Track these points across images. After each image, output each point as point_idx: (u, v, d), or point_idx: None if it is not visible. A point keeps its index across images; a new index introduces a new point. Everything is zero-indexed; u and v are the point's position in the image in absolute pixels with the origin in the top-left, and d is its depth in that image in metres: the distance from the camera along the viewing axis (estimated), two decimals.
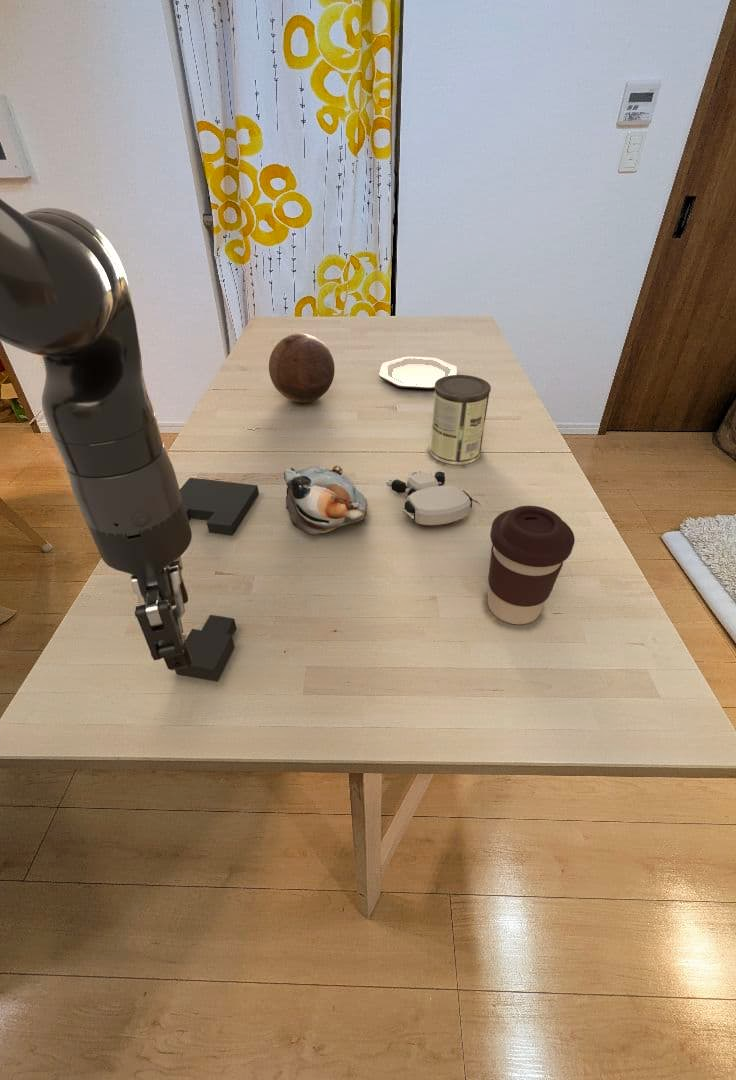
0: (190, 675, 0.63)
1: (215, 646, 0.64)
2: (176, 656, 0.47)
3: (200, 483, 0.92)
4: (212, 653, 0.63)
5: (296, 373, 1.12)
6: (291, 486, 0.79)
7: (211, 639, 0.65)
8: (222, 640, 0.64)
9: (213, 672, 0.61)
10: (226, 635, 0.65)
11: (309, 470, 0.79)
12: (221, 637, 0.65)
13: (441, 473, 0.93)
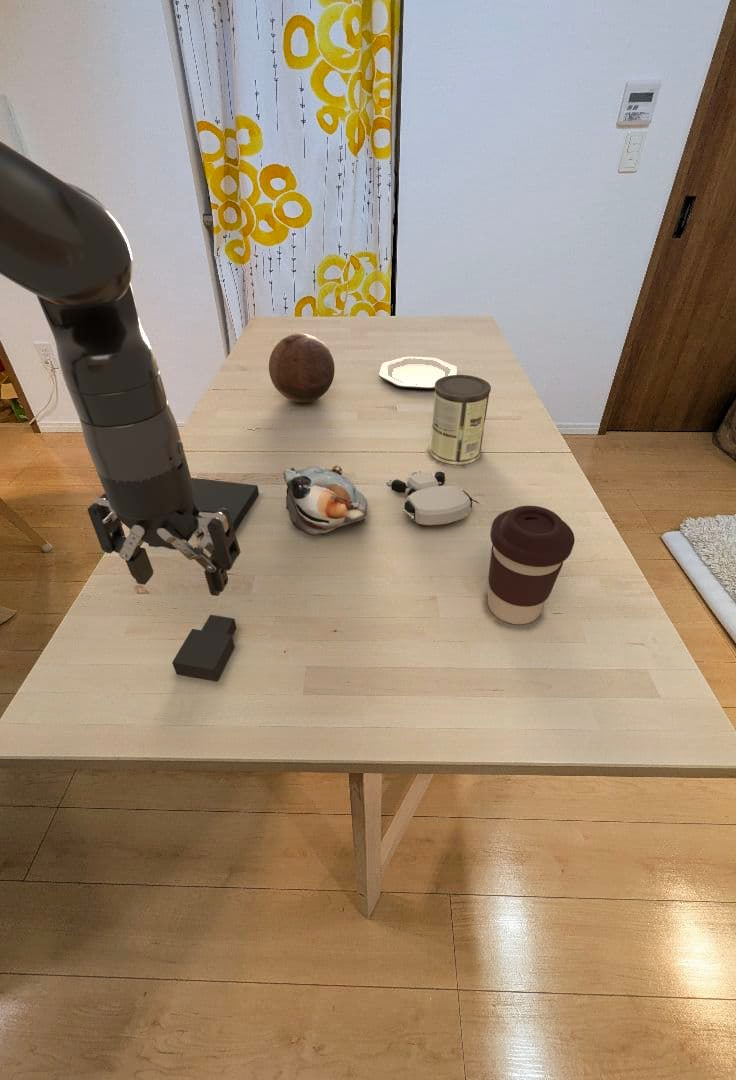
0: (190, 675, 0.63)
1: (215, 646, 0.64)
2: (223, 573, 0.54)
3: (200, 483, 0.92)
4: (212, 653, 0.63)
5: (296, 373, 1.12)
6: (291, 486, 0.79)
7: (211, 639, 0.65)
8: (222, 640, 0.64)
9: (213, 672, 0.61)
10: (226, 635, 0.65)
11: (309, 470, 0.79)
12: (221, 637, 0.65)
13: (441, 473, 0.93)
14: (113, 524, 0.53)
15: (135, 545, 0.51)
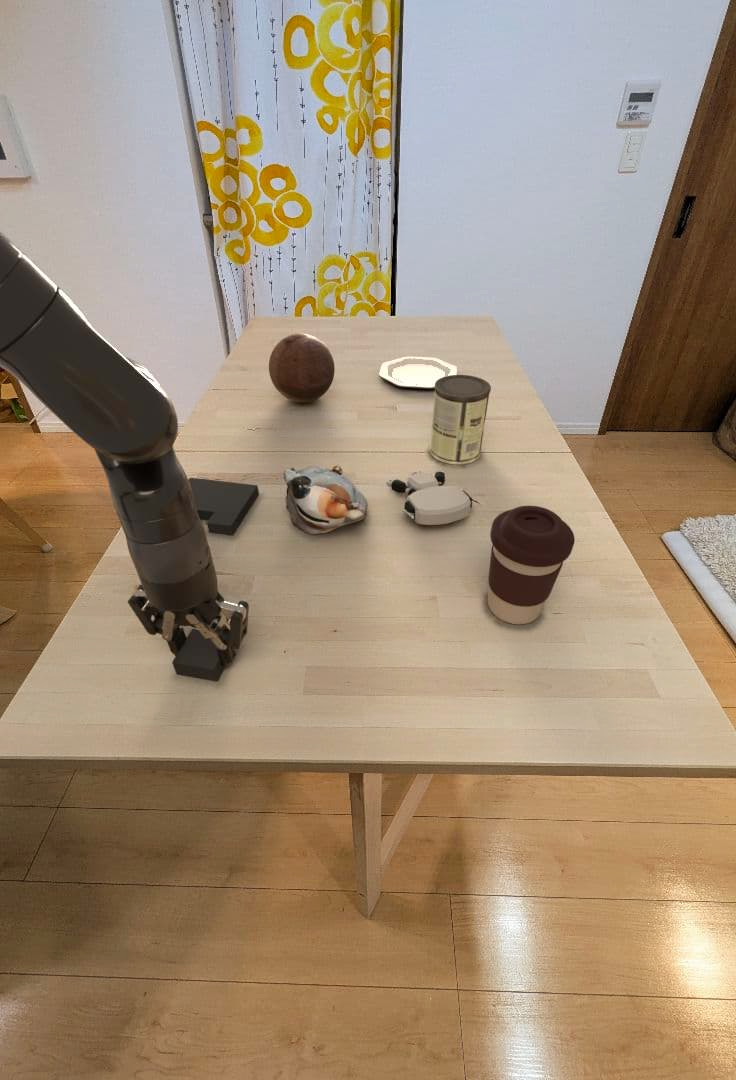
0: (190, 675, 0.63)
1: (215, 646, 0.64)
2: (232, 648, 0.63)
3: (200, 483, 0.92)
4: (212, 653, 0.63)
5: (296, 373, 1.12)
6: (291, 486, 0.79)
7: None
8: None
9: (213, 672, 0.61)
10: None
11: (309, 470, 0.79)
12: None
13: (441, 473, 0.93)
14: (152, 610, 0.61)
15: (171, 627, 0.59)
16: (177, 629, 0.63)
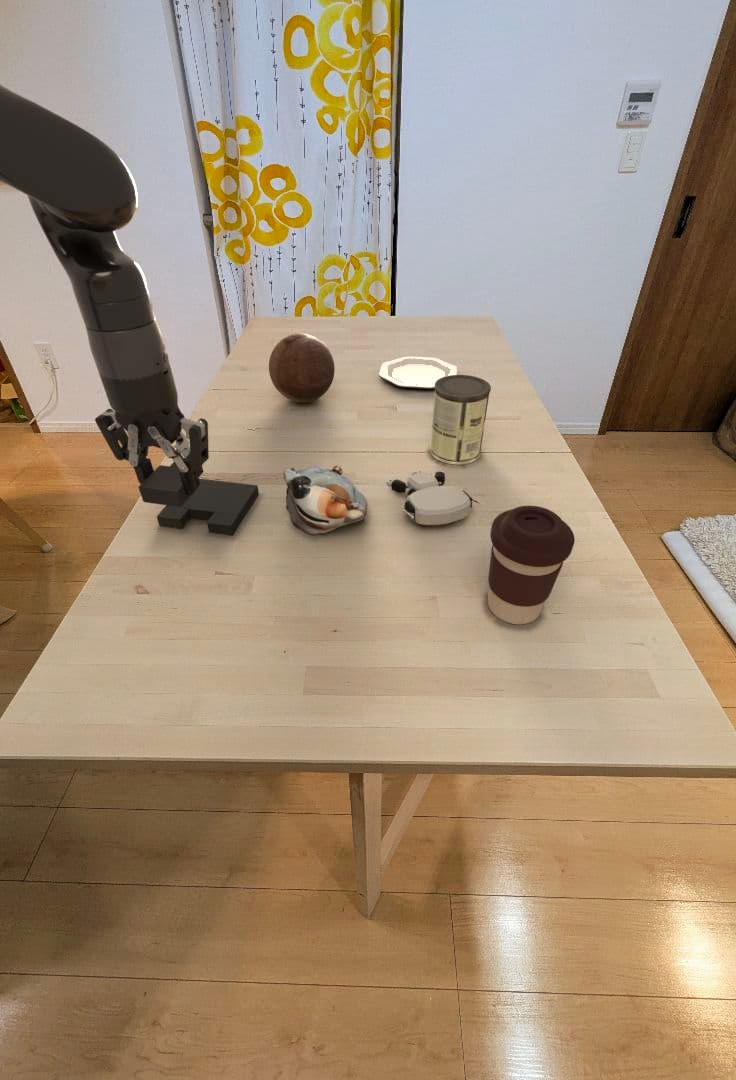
0: (156, 502, 0.67)
1: None
2: (195, 475, 0.66)
3: (200, 483, 0.92)
4: (176, 481, 0.67)
5: (296, 373, 1.12)
6: (291, 486, 0.79)
7: (177, 472, 0.68)
8: None
9: (176, 495, 0.65)
10: None
11: (309, 470, 0.79)
12: None
13: (441, 473, 0.93)
14: (119, 434, 0.65)
15: (136, 446, 0.63)
16: (143, 457, 0.66)
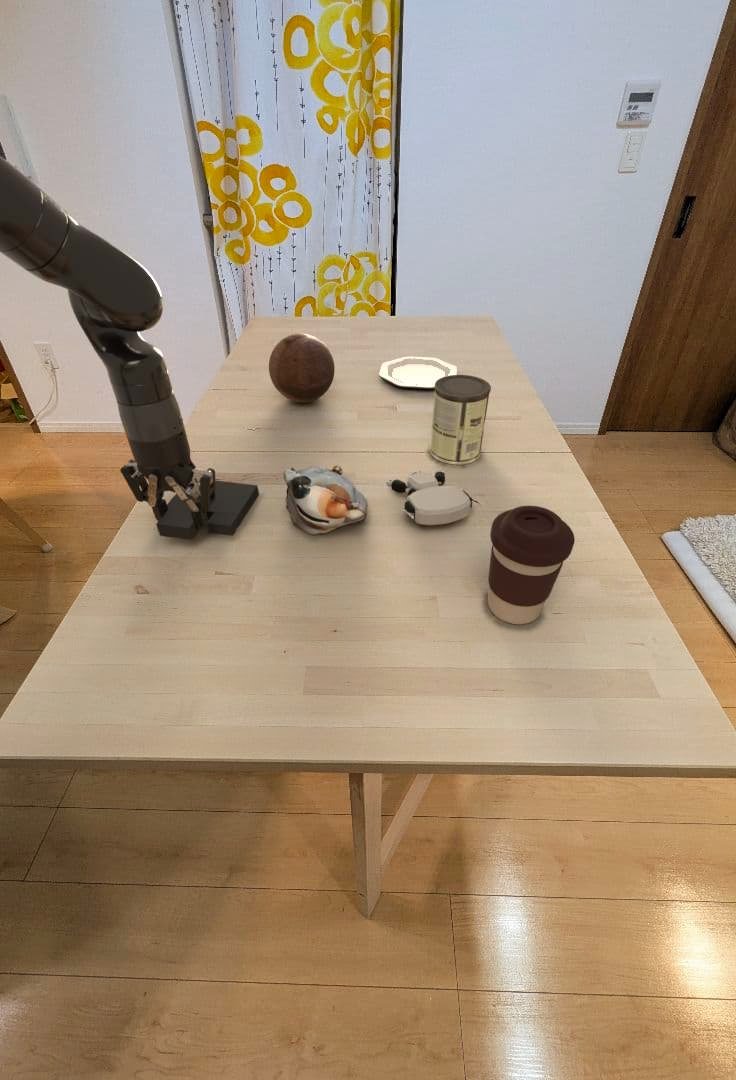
0: (171, 536, 0.79)
1: None
2: (204, 513, 0.79)
3: None
4: (188, 518, 0.79)
5: (296, 373, 1.12)
6: (291, 486, 0.79)
7: (188, 510, 0.81)
8: None
9: (188, 530, 0.78)
10: None
11: (309, 470, 0.79)
12: None
13: (441, 473, 0.93)
14: (140, 480, 0.77)
15: (155, 491, 0.75)
16: (160, 498, 0.79)
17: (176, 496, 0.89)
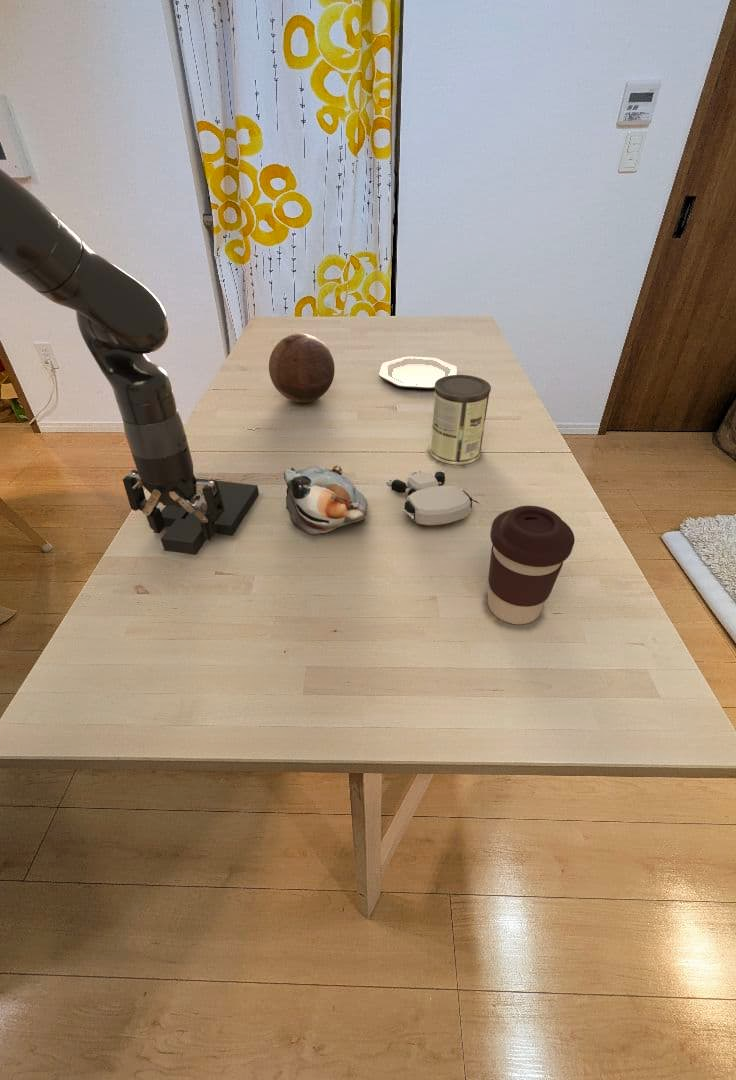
0: (175, 550, 0.81)
1: (194, 529, 0.82)
2: (213, 524, 0.80)
3: None
4: (192, 533, 0.81)
5: (296, 373, 1.12)
6: (291, 486, 0.79)
7: (191, 525, 0.82)
8: (200, 525, 0.82)
9: (192, 545, 0.79)
10: None
11: (309, 470, 0.79)
12: (199, 523, 0.83)
13: (441, 473, 0.93)
14: (138, 491, 0.78)
15: (154, 504, 0.77)
16: (154, 507, 0.80)
17: None
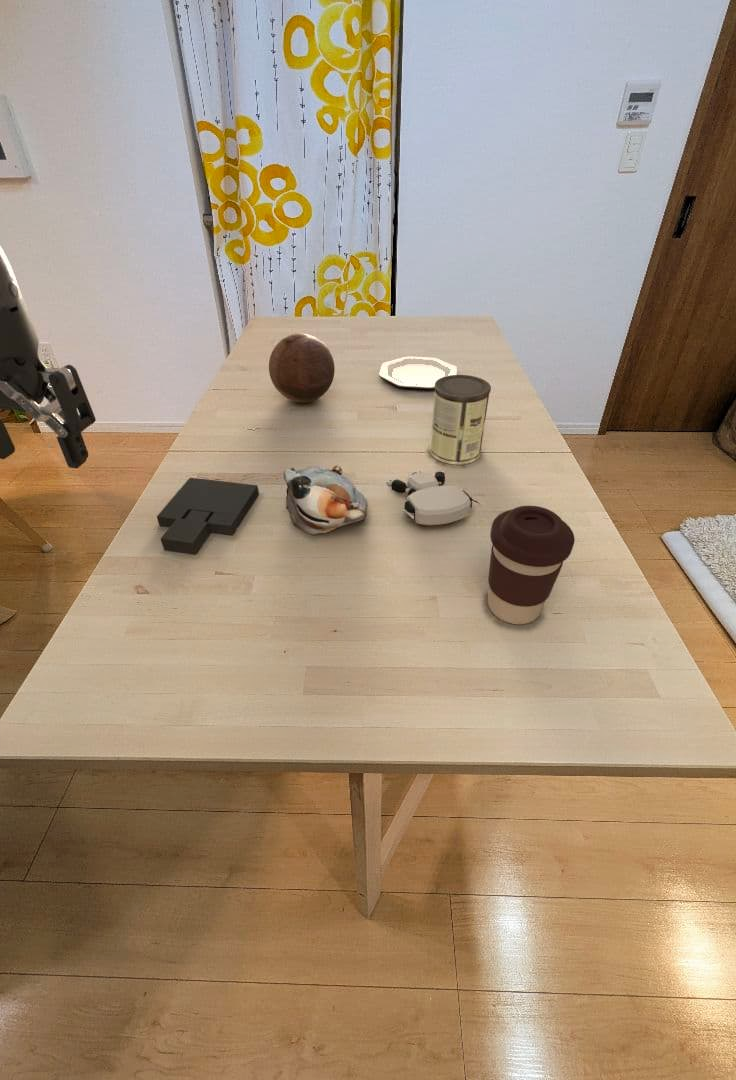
0: (175, 550, 0.81)
1: (194, 529, 0.82)
2: (80, 442, 0.53)
3: (200, 483, 0.92)
4: (192, 533, 0.81)
5: (296, 373, 1.12)
6: (291, 486, 0.79)
7: (191, 525, 0.82)
8: (200, 525, 0.82)
9: (192, 545, 0.79)
10: (203, 522, 0.83)
11: (309, 470, 0.79)
12: (199, 523, 0.83)
13: (441, 473, 0.93)
14: None
15: None
16: None
17: (176, 496, 0.89)
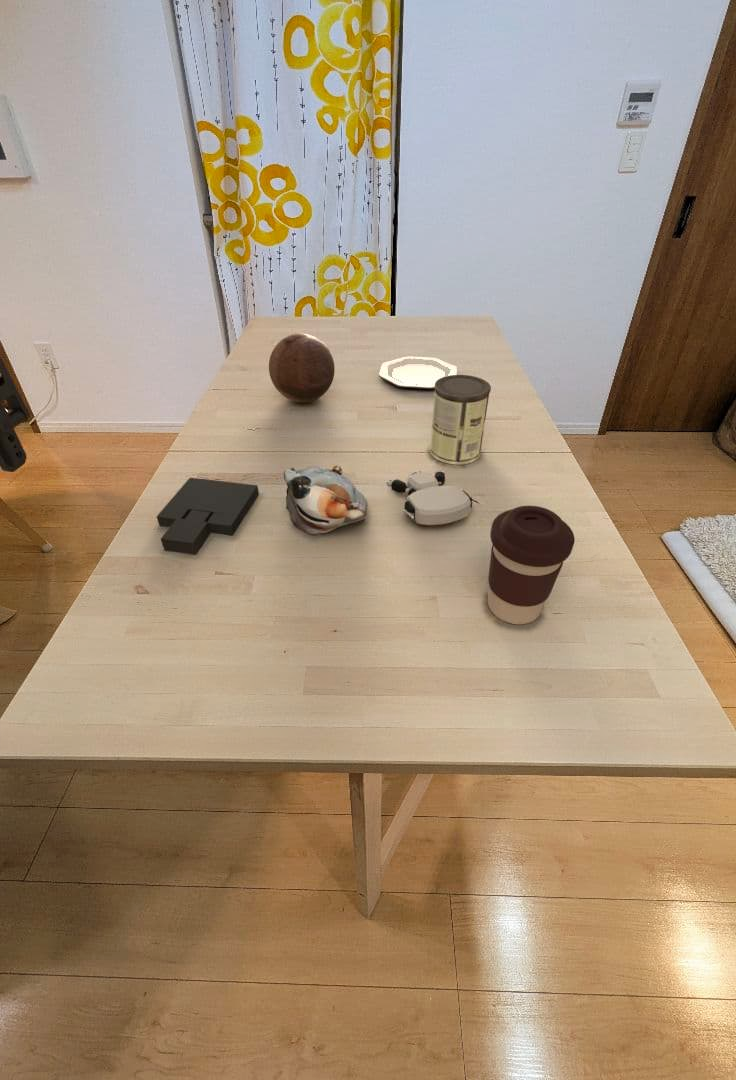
0: (175, 550, 0.81)
1: (194, 529, 0.82)
2: (14, 442, 0.46)
3: (200, 483, 0.92)
4: (192, 533, 0.81)
5: (296, 373, 1.12)
6: (291, 486, 0.79)
7: (191, 525, 0.82)
8: (200, 525, 0.82)
9: (192, 545, 0.79)
10: (203, 522, 0.83)
11: (309, 470, 0.79)
12: (199, 523, 0.83)
13: (441, 473, 0.93)
14: None
15: None
16: None
17: (176, 496, 0.89)
